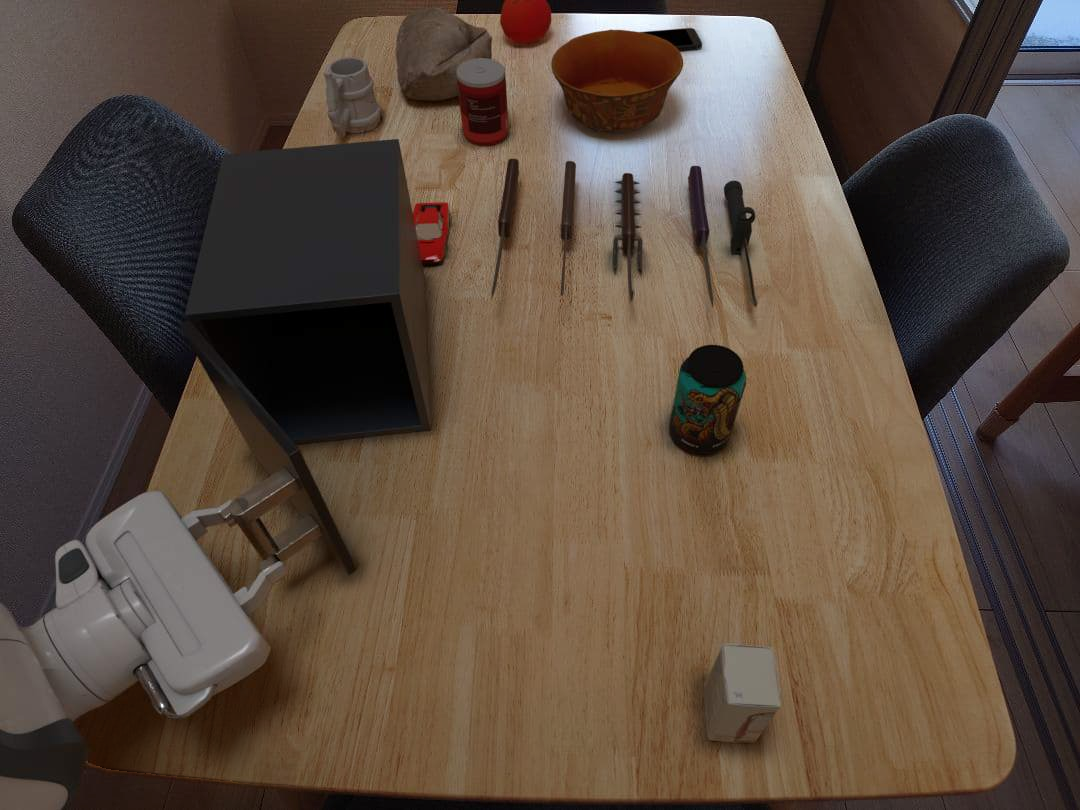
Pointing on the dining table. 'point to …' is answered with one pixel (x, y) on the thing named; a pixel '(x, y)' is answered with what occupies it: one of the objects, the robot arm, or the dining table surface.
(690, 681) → the dining table surface
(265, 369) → the cupboard
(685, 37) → the smartphone
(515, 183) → the knife set
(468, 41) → the rock
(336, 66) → the mug
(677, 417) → the beverage can
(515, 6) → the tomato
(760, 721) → the white carton box
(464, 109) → the canned food
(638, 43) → the bowl
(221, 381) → the cupboard door
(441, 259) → the toy car
